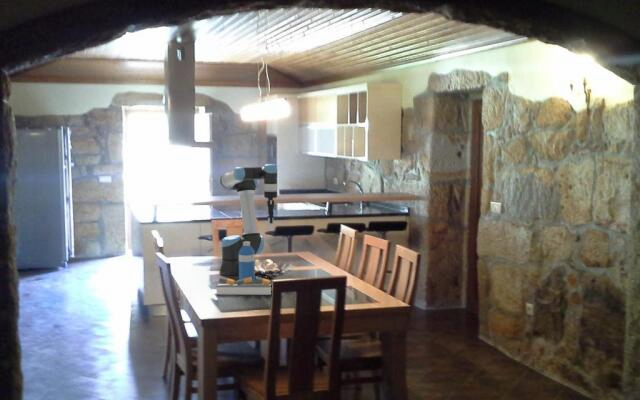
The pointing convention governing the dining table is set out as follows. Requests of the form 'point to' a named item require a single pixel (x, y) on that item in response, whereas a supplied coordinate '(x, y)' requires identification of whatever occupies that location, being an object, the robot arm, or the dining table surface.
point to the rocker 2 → (244, 280)
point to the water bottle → (246, 261)
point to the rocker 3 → (262, 280)
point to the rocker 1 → (226, 280)
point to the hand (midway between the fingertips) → (270, 226)
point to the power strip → (244, 288)
